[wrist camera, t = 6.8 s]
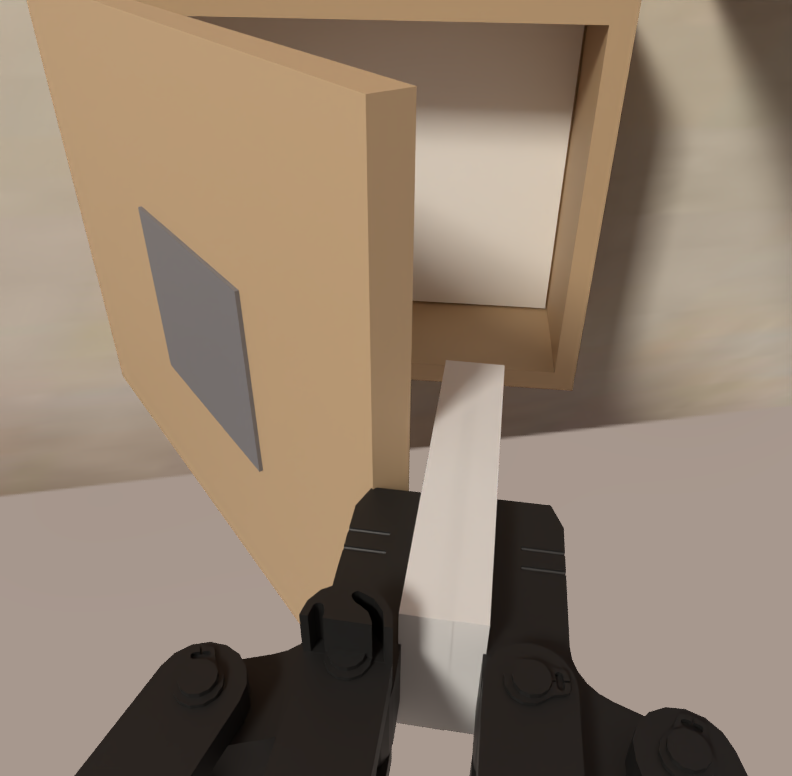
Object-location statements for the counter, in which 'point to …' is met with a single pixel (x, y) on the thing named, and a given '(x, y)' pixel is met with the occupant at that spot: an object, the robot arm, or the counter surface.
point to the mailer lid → (248, 261)
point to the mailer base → (485, 157)
